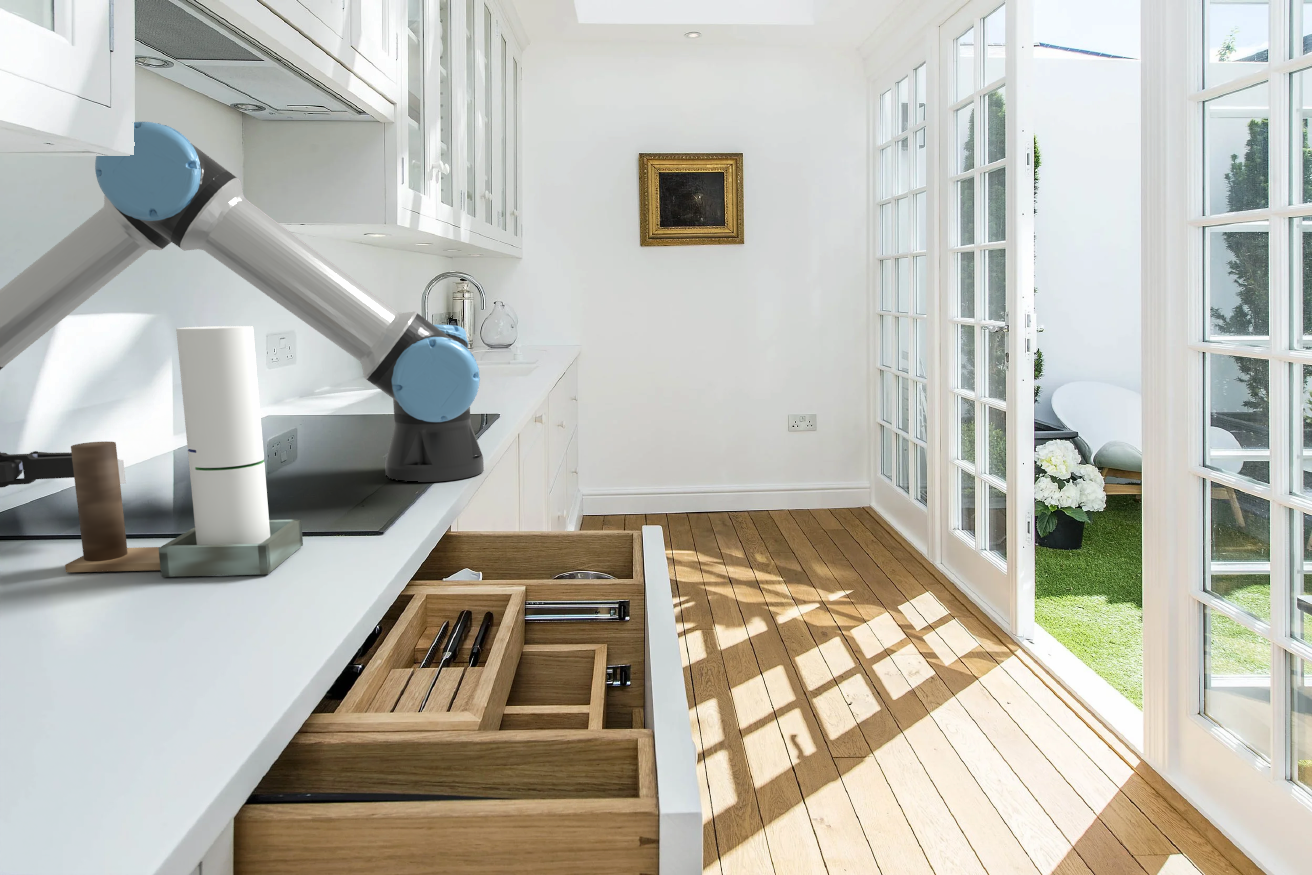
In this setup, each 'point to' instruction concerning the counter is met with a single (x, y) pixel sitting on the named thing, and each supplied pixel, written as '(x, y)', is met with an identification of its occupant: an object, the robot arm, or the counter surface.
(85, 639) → the counter surface
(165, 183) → the robot arm
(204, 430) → the cylindrical container
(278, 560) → the holder stand
